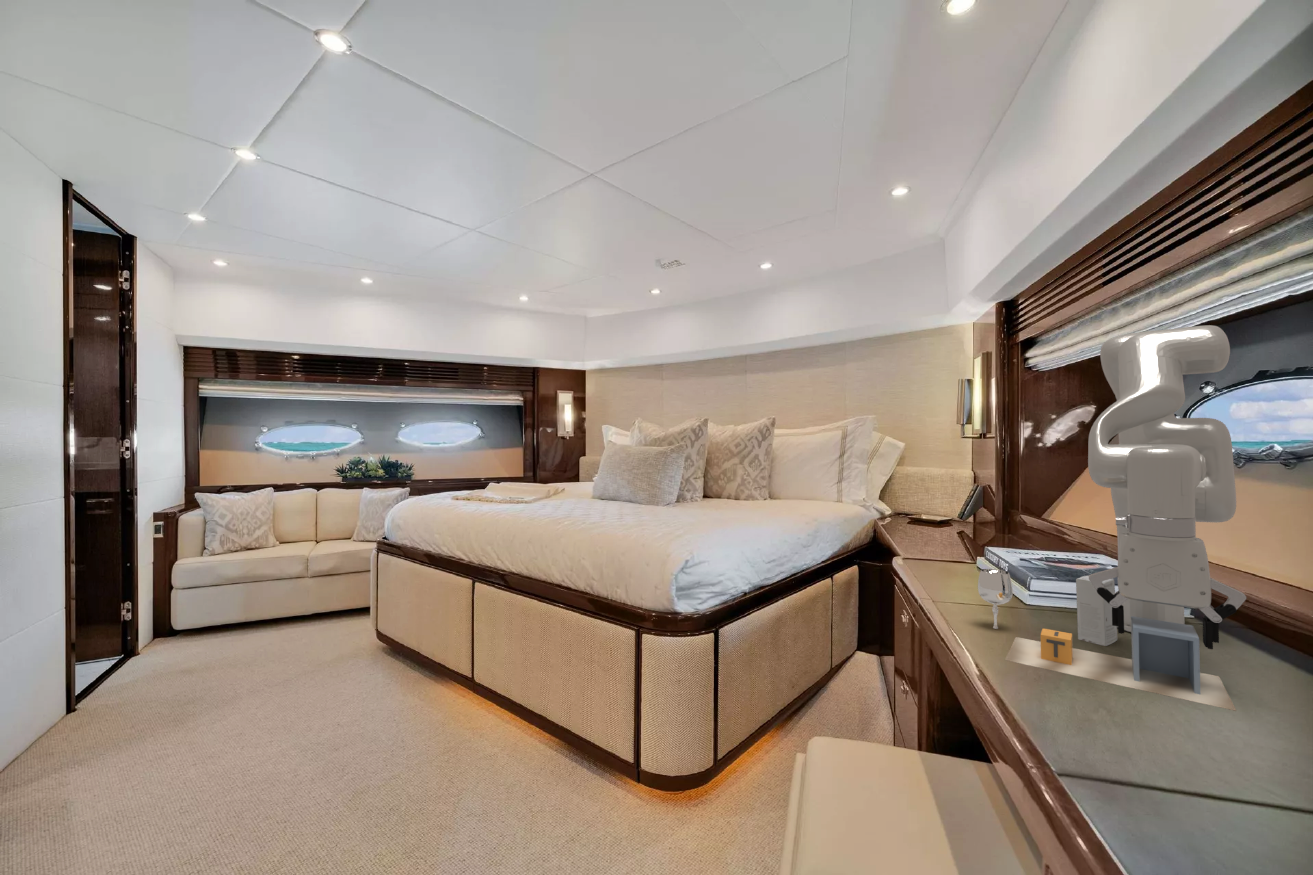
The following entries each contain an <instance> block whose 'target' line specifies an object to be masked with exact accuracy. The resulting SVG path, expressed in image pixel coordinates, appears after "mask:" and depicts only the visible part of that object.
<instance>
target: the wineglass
mask: <svg viewBox="0 0 1313 875" xmlns="http://www.w3.org/2000/svg"><path fill="white" fill-rule="evenodd" d="M977 581H978V582H977V591H978V594H979V597H980V598H981V599H983V600H984V601H985V602H988V603H989V604H992V605H993V606H992V613H993V627H992V628H993V629H996V630H998V629H999V626H998V614H999V607H998V606H999V605H1004V604H1006V603H1009V602H1010V601H1011V600H1012V597H1013V594H1014V590H1013V583H1012V579H1011V575H1010V572H1008V571H1005V570H1002V569H995V568H982V569H980V572H979V575H978V580H977Z"/></svg>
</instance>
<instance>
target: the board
mask: <svg viewBox="0 0 1313 875" xmlns="http://www.w3.org/2000/svg"><path fill="white" fill-rule="evenodd" d="M1072 652H1073V658H1072V665H1069V664H1064V663H1059V662H1054V661H1050V660H1045V659H1041V641H1039V640H1034V639H1033V640H1032V639H1029V638H1023V637H1018V636H1016V637H1015V638H1014V639H1013V642H1012V644H1011V647H1010V648H1009V650H1008V653H1007V654H1006V656H1005V659H1004V661H1007V662H1012V663H1017V664H1021V665H1026V666H1029V667H1035V668H1038V669H1044V670H1047V671H1053V672H1057V673H1062V674H1065V675H1071V676H1075V677H1078V678H1084V679H1088V680H1094V681H1098V682H1101V683H1102V682H1103V683H1107V684H1111V685H1117V686H1121V687H1124V688H1125V687H1126V688H1131V689H1135V690H1138V691H1143V692H1148V693H1152V694H1156V695H1157V694H1158V695H1162V696H1166V697H1171V698H1175V699H1179V700H1185V701H1190V702H1194V703H1198V704H1203V705H1207V706H1212V707H1215V708H1221V709H1225V710H1231V711H1235V712H1237V709H1236V707H1235V705H1234V703H1233V701H1232V698H1231V697H1230V695H1229V693H1228V691H1227V689H1226V687H1225V686H1224V683H1223V681H1222V679H1221V678H1220V676H1219V675H1214V674H1209V673H1205V672H1204V673H1203V672H1200V693H1201V695H1200V694H1195V693H1194V691H1193V688H1192V685H1191V683H1190V680H1189V678H1184V677H1179V676H1174V675H1169V674H1164V673H1159V672H1154V671H1149V670H1144V669H1139V678H1140V682H1139V681H1134V676H1133V669H1132V658H1126V657H1121V656H1117V655H1116V656H1115V655H1110V654H1105V653H1100V652H1096V651H1089V650H1085V649H1079V648H1074V647H1072Z"/></svg>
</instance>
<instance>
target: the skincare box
mask: <svg viewBox="0 0 1313 875" xmlns="http://www.w3.org/2000/svg"><path fill="white" fill-rule="evenodd" d="M1089 575H1090V574H1089ZM1089 575H1084V576H1080V577H1078V578H1076V579H1075V585H1076V586H1075V588H1076V614H1077V616H1076V617H1077V618H1076V619H1077V640H1080V641H1083V642H1087V643H1090V644H1096V645H1098V646H1099V645H1100V646H1104V647H1106V646H1109V645H1112V644H1113V643H1115V642H1116V641H1118V628H1117V626H1112V607H1111V606H1110V604H1109V603H1108V602H1107V601H1106V600H1104V599H1103V598H1102V597H1101V596H1100V595H1099V594H1098V593H1097V591H1096V589H1095V588H1094V587H1093V585H1092V583H1091V582H1090V580H1089ZM1102 583H1103V585H1104V587H1105V588H1106V589H1107V590H1109V591H1110V592H1111V593H1112V594H1115V593H1116V589H1115V588H1116V586H1115V584H1116V582H1115V578H1112V579H1108V580H1104V581H1102Z"/></svg>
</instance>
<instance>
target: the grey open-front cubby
mask: <svg viewBox="0 0 1313 875" xmlns="http://www.w3.org/2000/svg"><path fill="white" fill-rule="evenodd" d="M1130 633H1131V659H1132V669H1133V676H1134V681H1139V682H1140V678H1139V669H1144V670H1149V671H1154V672H1159V673H1164V674H1169V675H1174V676H1179V677H1184V678H1189V680H1190V683H1191V685H1192V688H1193V691H1194V693H1195V694H1200V695H1201V693H1200V673H1201V660H1200V659H1201V658H1200V655H1201V654H1200V636H1199V635H1198V633H1197V630H1196V629H1195V627H1194V625H1193V624H1192V625H1191V624H1179V623H1173V622H1166V621H1160V620H1153V619H1147V618H1140V617H1133V616H1131V632H1130Z"/></svg>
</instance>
